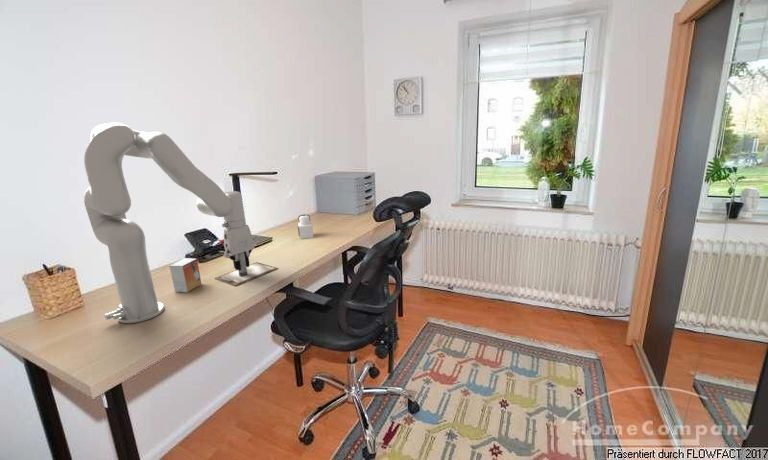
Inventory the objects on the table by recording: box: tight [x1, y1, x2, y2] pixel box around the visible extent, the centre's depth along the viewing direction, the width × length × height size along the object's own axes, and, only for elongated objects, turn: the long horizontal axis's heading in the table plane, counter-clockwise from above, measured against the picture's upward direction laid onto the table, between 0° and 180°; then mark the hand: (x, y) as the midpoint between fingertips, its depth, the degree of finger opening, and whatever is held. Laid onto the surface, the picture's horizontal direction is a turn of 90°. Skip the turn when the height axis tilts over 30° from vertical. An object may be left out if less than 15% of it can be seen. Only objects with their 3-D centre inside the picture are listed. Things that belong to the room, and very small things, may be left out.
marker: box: [238, 252, 248, 276], centre depth 145 cm, size 3×3×13 cm
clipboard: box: [214, 261, 279, 287], centre depth 149 cm, size 20×14×1 cm
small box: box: [169, 257, 202, 293], centre depth 136 cm, size 8×6×10 cm
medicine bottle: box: [297, 214, 314, 240], centre depth 195 cm, size 7×7×12 cm
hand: (242, 267), depth 146 cm, fingers closed on marker, 3 cm apart
